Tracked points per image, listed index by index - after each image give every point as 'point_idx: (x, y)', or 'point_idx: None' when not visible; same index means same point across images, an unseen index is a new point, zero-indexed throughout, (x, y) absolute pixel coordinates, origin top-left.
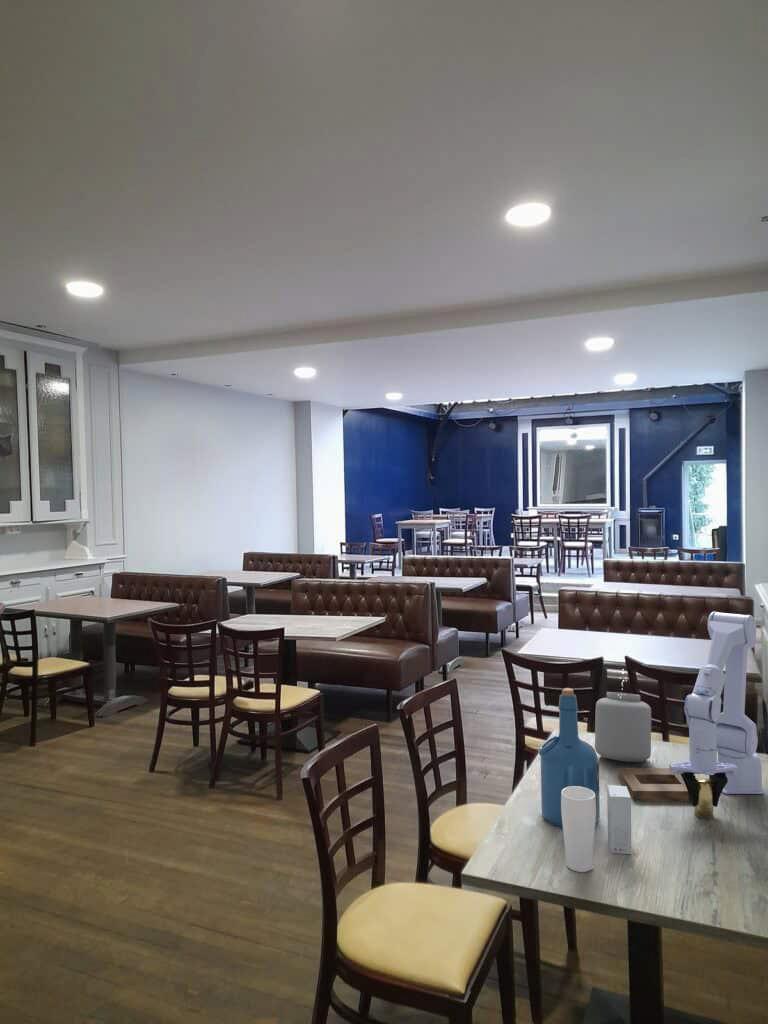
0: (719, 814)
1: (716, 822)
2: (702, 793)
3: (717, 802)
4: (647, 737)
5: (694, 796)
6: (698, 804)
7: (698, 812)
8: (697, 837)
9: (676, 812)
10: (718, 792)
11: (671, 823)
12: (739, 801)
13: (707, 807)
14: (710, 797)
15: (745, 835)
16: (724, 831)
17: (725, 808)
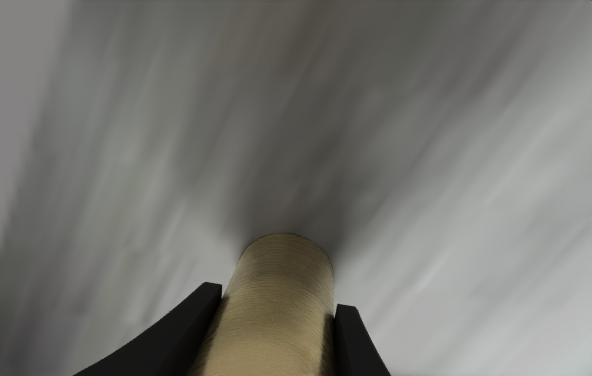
0: (199, 270)
1: (258, 193)
2: (300, 366)
3: (193, 295)
4: None
5: (366, 358)
6: (327, 309)
7: (327, 275)
8: (499, 12)
9: (415, 322)
10: (148, 350)
11: (535, 217)
12: (54, 360)
13: (278, 274)
14: (238, 324)
15: (159, 10)
16: (267, 79)
17: (142, 317)
